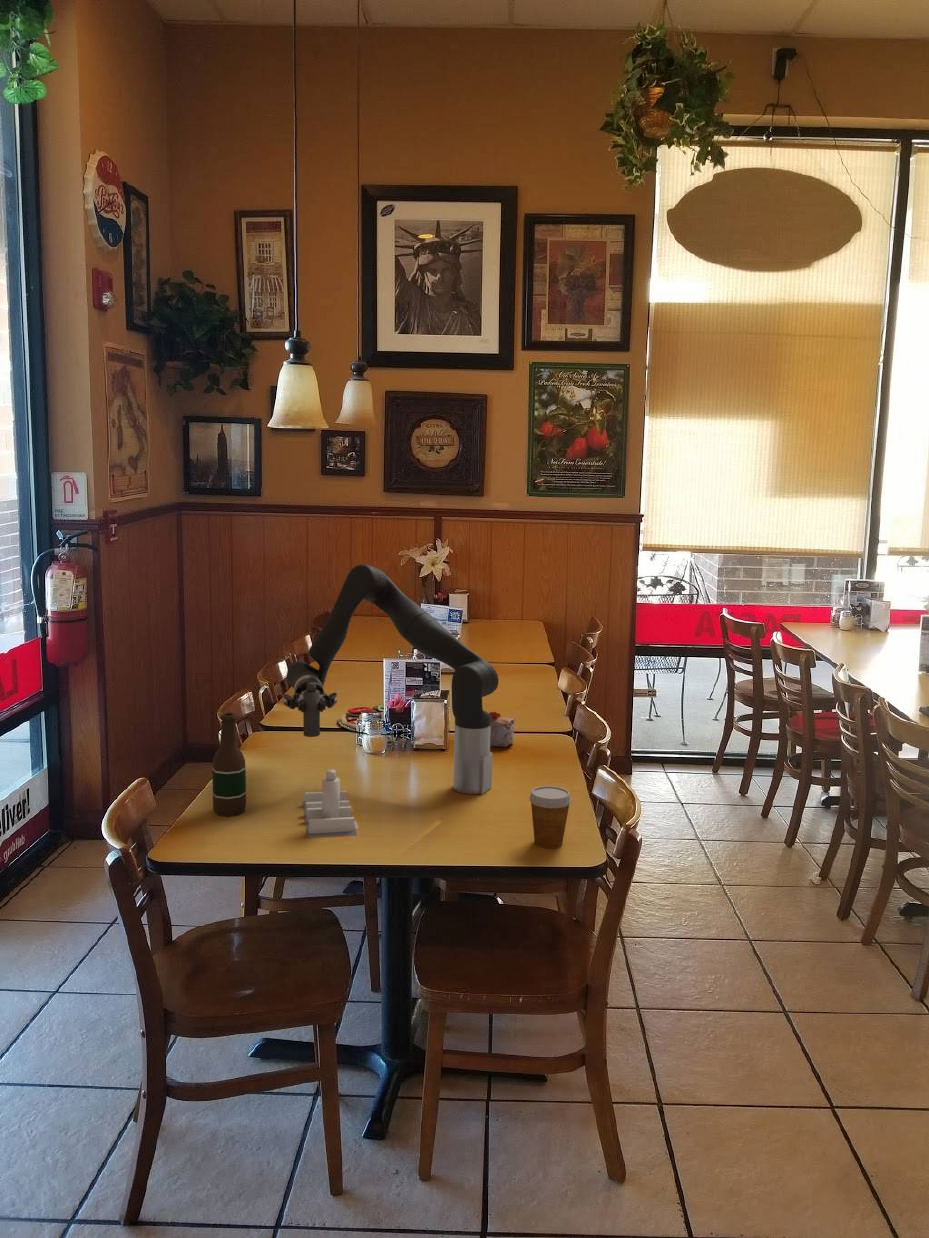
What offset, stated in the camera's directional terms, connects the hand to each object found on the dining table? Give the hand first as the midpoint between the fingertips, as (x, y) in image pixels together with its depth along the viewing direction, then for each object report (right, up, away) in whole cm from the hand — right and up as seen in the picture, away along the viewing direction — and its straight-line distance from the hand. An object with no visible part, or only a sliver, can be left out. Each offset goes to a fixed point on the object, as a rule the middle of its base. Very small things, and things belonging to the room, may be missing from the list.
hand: (312, 708), depth 249 cm
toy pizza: (+11, -12, +77) cm, 78 cm away
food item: (+45, -16, +56) cm, 74 cm away
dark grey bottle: (-1, -7, +4) cm, 8 cm away
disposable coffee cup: (+56, -29, -19) cm, 66 cm away
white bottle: (+7, -25, -16) cm, 31 cm away
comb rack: (+5, -26, -10) cm, 29 cm away
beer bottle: (-19, -25, -4) cm, 31 cm away
